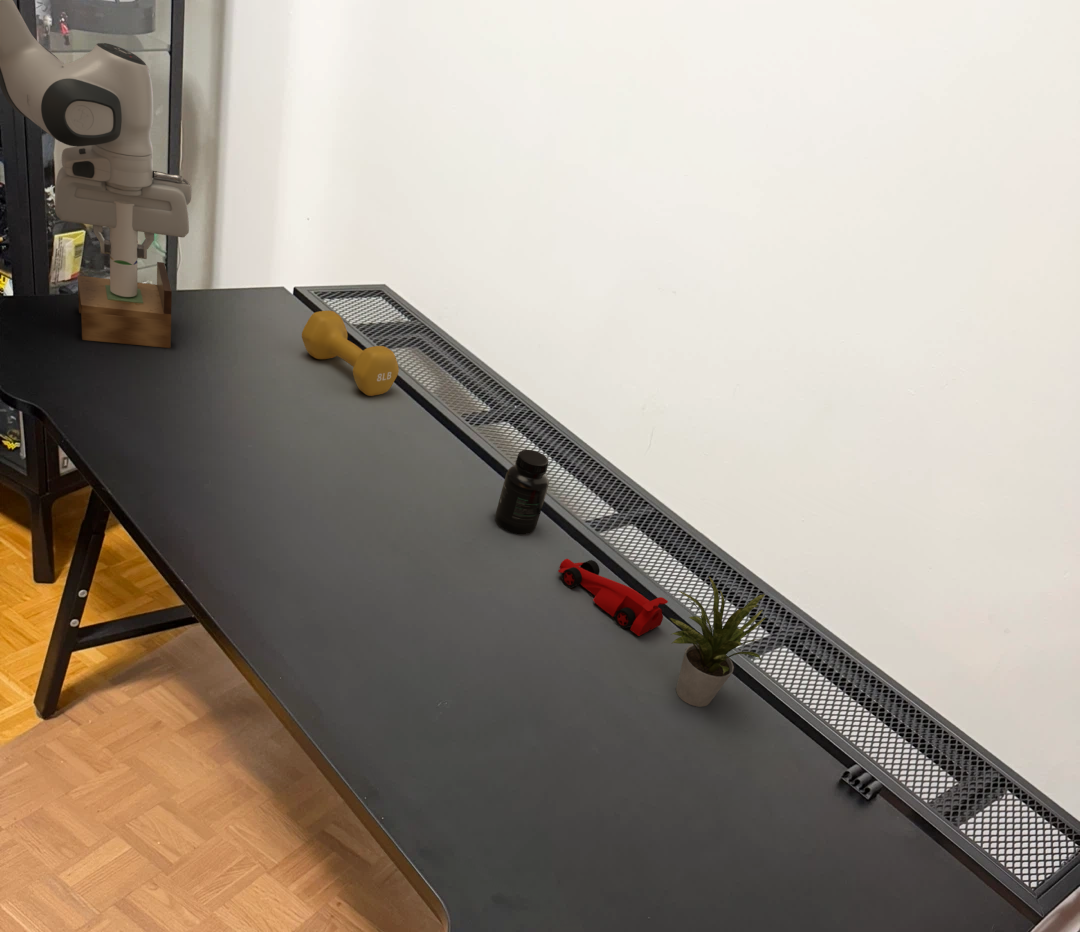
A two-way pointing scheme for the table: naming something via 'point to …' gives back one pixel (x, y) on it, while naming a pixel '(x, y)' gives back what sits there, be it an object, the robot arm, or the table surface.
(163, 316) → the wooden stand base
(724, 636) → the house plant
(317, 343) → the dumbbell
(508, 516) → the supplement bottle
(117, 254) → the tube
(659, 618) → the toy car
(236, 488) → the table surface
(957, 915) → the table surface
